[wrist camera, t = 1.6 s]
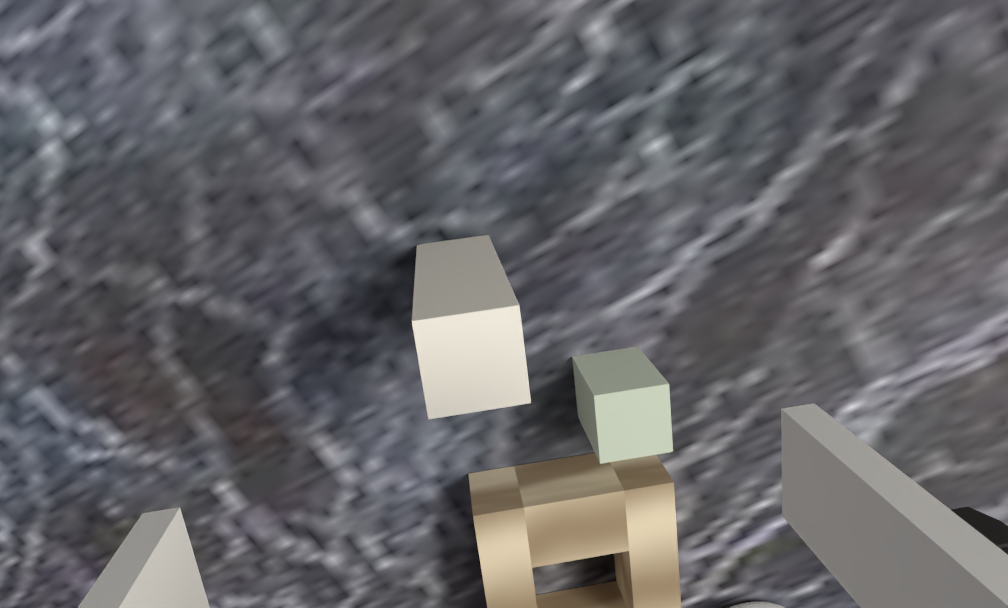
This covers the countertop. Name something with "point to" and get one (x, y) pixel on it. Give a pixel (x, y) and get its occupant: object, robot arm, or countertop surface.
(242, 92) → the countertop surface
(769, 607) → the pill bottle
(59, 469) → the countertop surface
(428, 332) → the long peg
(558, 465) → the hole block
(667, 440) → the short peg
